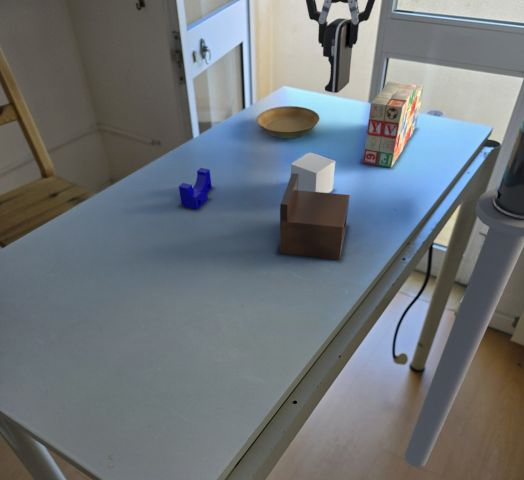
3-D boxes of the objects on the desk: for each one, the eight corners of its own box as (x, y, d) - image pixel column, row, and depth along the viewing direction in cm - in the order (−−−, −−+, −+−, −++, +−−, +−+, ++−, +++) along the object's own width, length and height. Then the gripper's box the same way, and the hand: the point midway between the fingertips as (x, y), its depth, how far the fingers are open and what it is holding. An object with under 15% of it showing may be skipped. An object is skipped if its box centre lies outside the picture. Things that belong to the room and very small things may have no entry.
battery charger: (332, 81, 98) (336, 14, 89) (349, 83, 96) (355, 16, 88) (319, 92, 94) (321, 24, 85) (337, 95, 92) (341, 25, 84)
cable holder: (197, 209, 90) (194, 190, 87) (181, 205, 91) (178, 186, 88) (218, 190, 95) (216, 170, 92) (203, 186, 96) (200, 167, 93)
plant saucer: (290, 148, 106) (290, 137, 104) (244, 131, 113) (243, 119, 111) (331, 127, 113) (332, 116, 111) (285, 112, 120) (285, 101, 118)
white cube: (290, 193, 93) (290, 163, 89) (308, 181, 96) (309, 152, 92) (315, 203, 90) (316, 173, 86) (332, 190, 93) (335, 160, 89)
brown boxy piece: (346, 226, 85) (351, 177, 78) (339, 259, 78) (345, 210, 71) (291, 221, 86) (291, 173, 79) (280, 253, 80) (279, 203, 73)
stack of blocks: (389, 124, 113) (399, 67, 104) (415, 128, 111) (427, 70, 102) (362, 163, 100) (370, 101, 91) (391, 168, 98) (402, 106, 89)
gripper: (298, -70, 76) (296, 51, 89) (389, -72, 73) (374, 53, 86) (306, -76, 81) (303, 40, 94) (391, -78, 78) (377, 41, 91)
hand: (337, 46), depth 90 cm, fingers closed on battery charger, 4 cm apart
